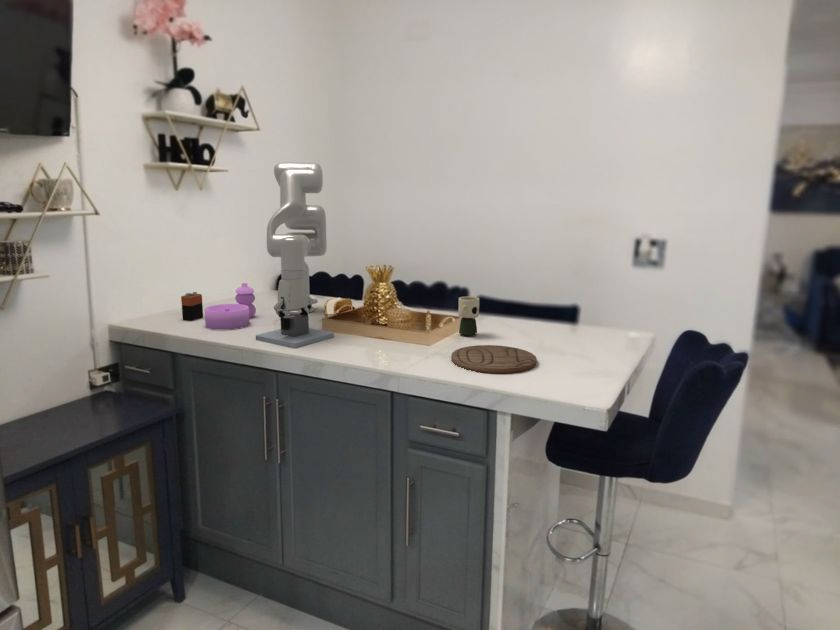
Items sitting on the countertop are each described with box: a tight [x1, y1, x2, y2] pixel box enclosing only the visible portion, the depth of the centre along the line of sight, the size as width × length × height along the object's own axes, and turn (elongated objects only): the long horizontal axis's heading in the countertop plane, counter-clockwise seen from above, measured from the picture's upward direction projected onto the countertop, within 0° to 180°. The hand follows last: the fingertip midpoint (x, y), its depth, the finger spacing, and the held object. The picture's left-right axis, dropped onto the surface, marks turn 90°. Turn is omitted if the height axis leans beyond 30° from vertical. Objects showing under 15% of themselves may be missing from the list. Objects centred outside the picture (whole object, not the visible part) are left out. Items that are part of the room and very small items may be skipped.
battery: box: [180, 291, 204, 322], centre depth 228 cm, size 4×7×10 cm, turn 159°
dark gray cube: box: [280, 314, 310, 337], centre depth 201 cm, size 6×6×6 cm
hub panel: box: [255, 327, 335, 349], centre depth 202 cm, size 18×18×6 cm
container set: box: [204, 282, 257, 330], centre depth 224 cm, size 25×15×13 cm, turn 168°
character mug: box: [457, 295, 480, 337], centre depth 208 cm, size 11×7×13 cm, turn 153°
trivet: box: [450, 344, 538, 375], centre depth 179 cm, size 25×25×2 cm
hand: (294, 326), depth 202 cm, fingers open, 8 cm apart
